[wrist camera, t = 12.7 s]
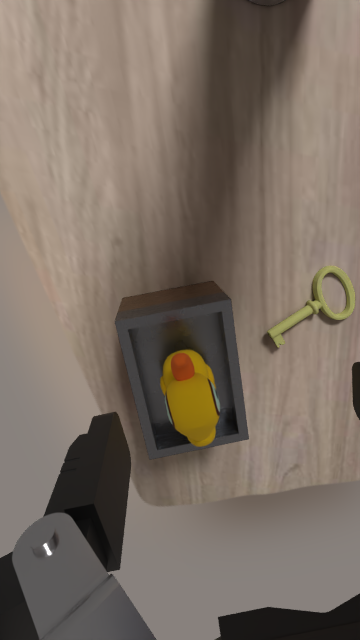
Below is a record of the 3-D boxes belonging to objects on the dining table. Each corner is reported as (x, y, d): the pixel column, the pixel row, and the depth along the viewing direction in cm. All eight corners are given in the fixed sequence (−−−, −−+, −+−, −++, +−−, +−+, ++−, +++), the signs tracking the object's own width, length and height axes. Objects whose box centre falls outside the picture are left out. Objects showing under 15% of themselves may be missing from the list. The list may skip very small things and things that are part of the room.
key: (259, 331, 42) (264, 337, 40) (328, 257, 40) (337, 259, 38) (296, 362, 44) (303, 369, 42) (364, 293, 42) (375, 297, 40)
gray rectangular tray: (213, 280, 39) (230, 299, 30) (229, 395, 44) (248, 439, 35) (122, 298, 39) (114, 321, 30) (149, 411, 44) (149, 459, 35)
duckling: (146, 329, 33) (144, 374, 24) (197, 315, 33) (215, 355, 24) (174, 420, 37) (182, 491, 27) (219, 408, 37) (243, 475, 27)
